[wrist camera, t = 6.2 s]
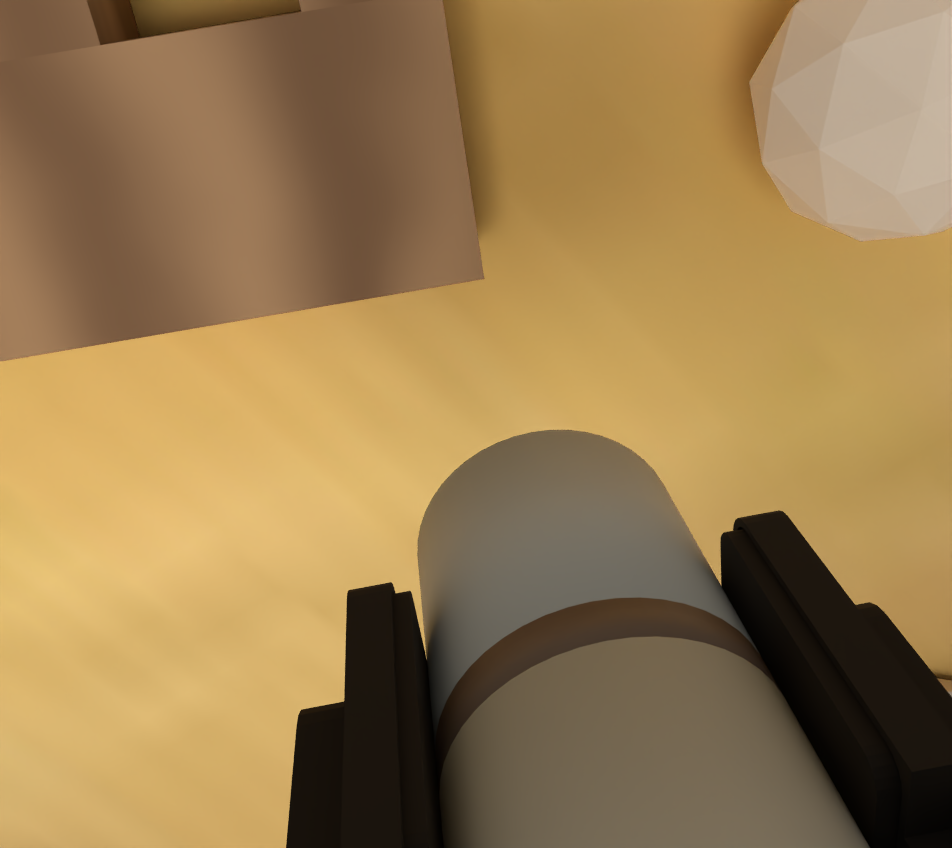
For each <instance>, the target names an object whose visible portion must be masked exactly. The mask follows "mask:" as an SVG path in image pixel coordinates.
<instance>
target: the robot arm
mask: <svg viewBox="0 0 952 848" xmlns="http://www.w3.org/2000/svg"><path fill="white" fill-rule="evenodd" d="M721 584H722V588H723V590H724V592H725V594H726V595H727V597H728V599H729V601H730V603H731V604H732V606H733V608H734V610H735V611H736V613H737V615H738V617H739V618H740V620H741V622H742V624H743V625H744V627H745V629H746V631H747V632H748V634H749V636H750V638H751V639H752V641H753V643H754V645H755V646H756V648H757V650H758V652H759V653H760V655H761V657H762V659H763V661H764V662H765V664H766V666H767V668H768V669H769V671H770V673H771V675H772V676H773V678H774V680H775V682H776V683H777V685H778V687H779V689H780V690H781V692H782V694H783V696H784V697H785V699H786V701H787V703H788V704H789V706H790V708H791V710H792V711H793V713H794V715H795V717H796V719H797V720H798V722H799V724H800V726H801V727H802V729H803V731H804V733H805V734H806V736H807V738H808V740H809V741H810V743H811V745H812V747H813V748H814V750H815V752H816V754H817V755H818V757H819V759H820V761H821V762H822V764H823V766H824V768H825V769H826V771H827V773H828V775H829V777H830V778H831V780H832V782H833V784H834V785H835V787H836V789H837V791H838V792H839V794H840V796H841V798H842V799H843V801H844V803H845V805H846V806H847V808H848V810H849V812H850V813H851V815H852V817H853V819H854V820H855V822H856V824H857V826H858V828H859V829H860V831H861V833H862V835H863V836H864V838H865V840H866V842H867V843H868V845H869V847H870V848H952V680H945V679H938V678H936V676H935V675H934V674H933V673H932V671H931V670H930V669H929V668H928V666H927V665H926V664H925V663H924V661H923V660H922V659H921V658H920V656H919V655H918V654H917V653H916V651H915V650H914V649H913V648H912V646H911V645H910V644H909V643H908V641H907V640H906V639H905V637H904V636H903V635H902V634H901V632H900V631H899V630H898V629H897V627H896V626H895V625H894V624H893V622H892V621H891V620H890V619H889V617H888V616H887V615H886V614H885V613H884V612H883V611H882V610H881V609H880V608H879V607H878V606H877V605H875V604H872V603H870V602H869V603H864V604H859V605H855V604H854V603H853V602H852V600H851V599H850V598H849V596H848V595H847V594H846V592H845V591H844V590H843V588H842V587H841V586H840V584H839V583H838V582H837V581H836V579H835V578H834V577H833V575H832V574H831V573H830V571H829V570H828V569H827V567H826V566H825V565H824V563H823V562H822V561H821V559H820V558H819V557H818V555H817V554H816V553H815V551H814V550H813V549H812V548H811V546H810V545H809V544H808V542H807V541H806V540H805V538H804V537H803V536H802V534H801V533H800V532H799V530H798V529H797V528H796V526H795V525H794V524H793V522H792V521H791V520H790V519H789V517H788V516H787V515H786V514H785V513H784V512H783V511H774V512H769V513H763V514H758V515H752V516H747V517H742V518H737V519H736V520H735V523H734V527H733V531H730V532H724V533H723V534H722V536H721ZM286 848H444V846H443V835H442V823H441V812H440V801H439V790H438V779H437V768H436V756H435V745H434V734H433V723H432V712H431V701H430V689H429V678H428V667H427V659H426V655H425V650H424V646H423V641H422V637H421V633H420V628H419V624H418V619H417V615H416V610H415V606H414V601H413V597H412V594H411V591H407V592H402V593H396V594H395V590H394V587H393V584H392V583H385V584H380V585H375V586H369V587H364V588H358V589H353V590H349V591H348V593H347V620H346V659H345V698H344V702H340V703H335V704H329V705H324V706H319V707H313V708H308V709H303V710H301V711H300V713H299V715H298V721H297V729H296V740H295V752H294V763H293V775H292V787H291V798H290V810H289V821H288V833H287V844H286Z"/></svg>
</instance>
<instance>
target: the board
mask: <svg viewBox="0 0 952 848" xmlns="http://www.w3.org/2000/svg"><path fill="white" fill-rule="evenodd" d="M299 4H300V8H301V11H297V12H291V13H285V14H279V15H273V16H267V17H261V18H255V19H249V20H243V21H237V22H231V23H225V24H219V25H213V26H207V27H200V28H194V29H188V30H182V31H176V32H170V33H164V34H158V35H152V36H146V37H140V36H139V33H138V29H137V26H136V22H135V19H134V15H133V12H132V8H131V5H130V1H129V0H0V361H6V360H12V359H18V358H23V357H29V356H35V355H41V354H47V353H53V352H59V351H64V350H70V349H76V348H82V347H88V346H94V345H100V344H105V343H111V342H117V341H123V340H129V339H135V338H141V337H146V336H152V335H158V334H164V333H170V332H176V331H182V330H187V329H193V328H199V327H205V326H211V325H217V324H223V323H228V322H234V321H240V320H246V319H252V318H258V317H264V316H270V315H275V314H281V313H287V312H293V311H299V310H305V309H311V308H316V307H322V306H328V305H334V304H340V303H346V302H352V301H357V300H363V299H369V298H375V297H381V296H387V295H393V294H398V293H404V292H410V291H416V290H422V289H428V288H434V287H439V286H445V285H451V284H457V283H463V282H469V281H475V280H480V279H484V274H483V268H482V261H481V254H480V247H479V241H478V234H477V227H476V221H475V214H474V207H473V200H472V194H471V187H470V180H469V174H468V167H467V160H466V153H465V147H464V140H463V133H462V127H461V120H460V113H459V106H458V100H457V93H456V86H455V80H454V73H453V66H452V59H451V53H450V46H449V39H448V33H447V26H446V19H445V12H444V6H443V0H299Z"/></svg>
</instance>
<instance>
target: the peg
mask: <svg viewBox="0 0 952 848" xmlns="http://www.w3.org/2000/svg"><path fill="white" fill-rule="evenodd" d="M417 555H418V567H419V578H420V589H421V600H422V611H423V622H424V634H425V645H426V656H427V667H428V678H429V689H430V701H431V712H432V723H433V734H434V745H435V756H436V768H437V779H438V790H439V801H440V812H441V823H442V835H443V846H444V848H870V847H869V845H868V843H867V842H866V840H865V838H864V836H863V835H862V833H861V831H860V829H859V828H858V826H857V824H856V822H855V820H854V819H853V817H852V815H851V813H850V812H849V810H848V808H847V806H846V805H845V803H844V801H843V799H842V798H841V796H840V794H839V792H838V791H837V789H836V787H835V785H834V784H833V782H832V780H831V778H830V777H829V775H828V773H827V771H826V769H825V768H824V766H823V764H822V762H821V761H820V759H819V757H818V755H817V754H816V752H815V750H814V748H813V747H812V745H811V743H810V741H809V740H808V738H807V736H806V734H805V733H804V731H803V729H802V727H801V726H800V724H799V722H798V720H797V719H796V717H795V715H794V713H793V711H792V710H791V708H790V706H789V704H788V703H787V701H786V699H785V697H784V696H783V694H782V692H781V690H780V689H779V687H778V685H777V683H776V682H775V680H774V678H773V676H772V675H771V673H770V671H769V669H768V668H767V666H766V664H765V662H764V661H763V659H762V657H761V655H760V653H759V652H758V650H757V648H756V646H755V645H754V643H753V641H752V639H751V638H750V636H749V634H748V632H747V631H746V629H745V627H744V625H743V624H742V622H741V620H740V618H739V617H738V615H737V613H736V611H735V610H734V608H733V606H732V604H731V603H730V601H729V599H728V597H727V595H726V594H725V592H724V590H723V588H722V587H721V585H720V583H719V581H718V580H717V578H716V576H715V574H714V573H713V571H712V569H711V567H710V566H709V564H708V562H707V560H706V559H705V557H704V555H703V553H702V552H701V550H700V548H699V546H698V544H697V543H696V541H695V539H694V537H693V536H692V534H691V532H690V530H689V529H688V527H687V525H686V523H685V522H684V520H683V518H682V516H681V515H680V513H679V511H678V509H677V508H676V506H675V504H674V502H673V501H672V499H671V497H670V495H669V494H668V492H667V490H666V488H665V486H664V485H663V483H662V481H661V480H660V478H659V477H658V476H657V474H656V473H655V471H654V470H653V469H652V468H651V467H650V466H649V465H648V464H647V463H646V462H645V461H644V459H642V458H641V457H640V456H638V455H637V454H636V453H634V452H633V451H632V450H630V449H629V448H627V447H625V446H623V445H621V444H620V443H618V442H616V441H613V440H611V439H608V438H605V437H603V436H600V435H595V434H591V433H587V432H581V431H572V430H546V431H538V432H531V433H527V434H523V435H519V436H514V437H512V438H509V439H506V440H504V441H501V442H498V443H496V444H494V445H492V446H490V447H488V448H486V449H484V450H482V451H480V452H479V453H477V454H476V455H474V456H473V457H471V458H470V459H468V460H467V461H465V462H464V463H463V464H462V465H461V466H460V467H458V468H457V469H456V470H455V471H454V472H453V473H452V474H451V475H450V476H449V477H448V478H447V479H446V480H445V481H444V483H443V484H442V485H441V486H440V488H439V489H438V491H437V492H436V493H435V495H434V496H433V498H432V500H431V502H430V504H429V506H428V508H427V509H426V511H425V514H424V517H423V520H422V523H421V526H420V531H419V537H418V553H417Z"/></svg>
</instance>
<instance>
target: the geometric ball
mask: <svg viewBox="0 0 952 848" xmlns="http://www.w3.org/2000/svg"><path fill="white" fill-rule="evenodd" d="M749 84H750V90H751V97H752V103H753V109H754V116H755V122H756V128H757V135H758V141H759V147H760V154H761V160H762V164H763V166H764V168H765V169H766V171H767V172H768V174H769V176H770V177H771V179H772V181H773V182H774V184H775V186H776V187H777V189H778V190H779V192H780V194H781V195H782V197H783V199H784V200H785V202H786V204H787V205H788V207H789V209H790V210H791V211H792V212H794V213H796V214H799V215H801V216H803V217H806V218H808V219H810V220H813V221H815V222H817V223H819V224H822V225H824V226H826V227H829V228H831V229H833V230H836V231H838V232H840V233H843V234H845V235H847V236H849V237H852V238H854V239H856V240H859V241H870V240H881V239H892V238H902V237H913V236H924V235H929V234H933V233H938V232H942V231H945V230H947V229H949V228H951V227H952V0H799V1H798V2H797V3H796V4H795V5H794V6H793V7H792V8H791V10H790V11H789V13H788V15H787V17H786V18H785V20H784V22H783V24H782V25H781V27H780V29H779V31H778V32H777V34H776V36H775V38H774V39H773V41H772V43H771V45H770V46H769V48H768V50H767V52H766V53H765V55H764V57H763V59H762V60H761V62H760V64H759V66H758V67H757V69H756V71H755V73H754V74H753V76H752V78H751V80H750V81H749Z"/></svg>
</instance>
